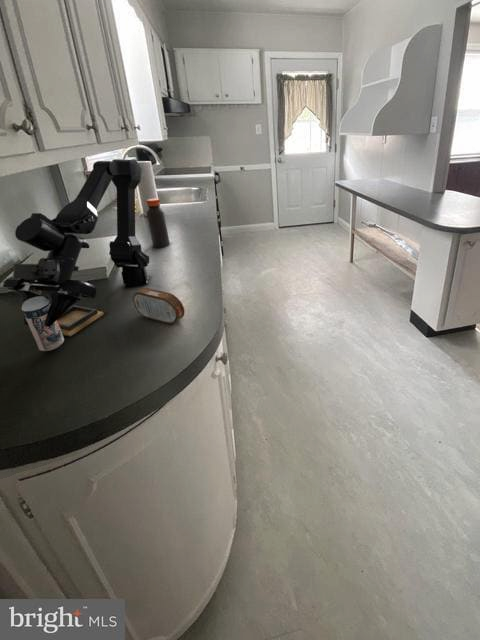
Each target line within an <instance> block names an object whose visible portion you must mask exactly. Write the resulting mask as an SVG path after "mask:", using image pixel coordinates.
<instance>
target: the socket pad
mask: <svg viewBox="0 0 480 640" xmlns="http://www.w3.org/2000/svg"><path fill="white" fill-rule="evenodd" d="M104 315H105V314H104V311H100V310H97V308H91V307H86V306H80V305H76V304H73V305H72V306H71V307H70V308H69V309H67V310H66V311H65V312H64V313H63V314H62V315H61V316H60V317H59V318H58V319H57V322H58V325H59V327H60V330H61V332H62V335H63V336H67V337H72V336H73V335H75V334H76V333H78V332H79V331H81V330H83V329H84V328H85V327H87V326H89V325H90V324H92V323H93V322H95V321H96V320H98V319H99V318H101V317H102V316H104Z"/></svg>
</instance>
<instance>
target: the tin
mask: <svg viewBox="0 0 480 640" xmlns="http://www.w3.org/2000/svg"><path fill="white" fill-rule="evenodd" d="M132 301H133V304H134V308H135V309H136V311H137V312H138V313H139V314H140V315H142V316H143V317H145V318H147V319H150V320H154V321H158V322H161V323H165V324H168V325H174V324H176V323H177V322H179V321H180V320H181V319H182V318H183V317H184V316H185V307H184V304H183V303H182V301H181V300H180V299H179V298H178V297H177V296H176V295H175V294H173V293H171V292H168V291H164V290H159V289H156V288H152V287H147V286H146V287H145V286H143V287H141V288H140V289H139V290H137V291H136V292H135V293H134V294H133V296H132Z"/></svg>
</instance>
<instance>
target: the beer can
mask: <svg viewBox="0 0 480 640" xmlns="http://www.w3.org/2000/svg"><path fill="white" fill-rule="evenodd" d="M43 296H44V295H43ZM43 296H37V297H34V298H30V299H28V300H26V301H24V303H23V302H22V303H21V304H22V305H21V311H22V313H23V317H24V316H25V318H26V320H27V323H28V325H27V326H28V327H29V329H30V331H31V334H32V336H33V339H34V341H35V344H36V346H37V348H38V350H39V351H41V352H49V351H53V350H56V349H57V348H59V347H60V346H61V345H62V344H63V343H64V342H65V338H64V335H62V332H61V330H60V327H59V325H58V322H57V320H56V321H55V322H54V323H53V324H52V325H51V326H50V327H47V326H45V322H46V318H47V315H48V312H49V309H50V306H51V302H50V299H48V298H47V299H46V298H45V297H43Z"/></svg>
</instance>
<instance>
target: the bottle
mask: <svg viewBox="0 0 480 640" xmlns="http://www.w3.org/2000/svg"><path fill="white" fill-rule="evenodd" d="M146 206H147V207H148V209H147V211H146V217H147V223H148V227H149V232H150V237H151V242H152V246H153V247H154V248H165V247H168V246H169V245H170V238H169V237H170V236H169V232H168V226H167V222H166V216H165V211H164V209H163V208H161V201H160V198H157V197H156V198H153V197H152V198H148V199H146Z"/></svg>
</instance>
